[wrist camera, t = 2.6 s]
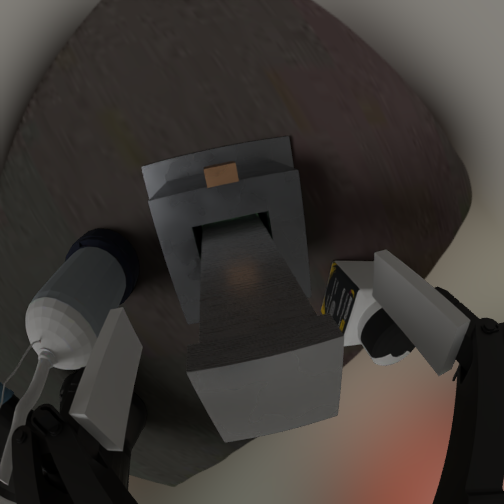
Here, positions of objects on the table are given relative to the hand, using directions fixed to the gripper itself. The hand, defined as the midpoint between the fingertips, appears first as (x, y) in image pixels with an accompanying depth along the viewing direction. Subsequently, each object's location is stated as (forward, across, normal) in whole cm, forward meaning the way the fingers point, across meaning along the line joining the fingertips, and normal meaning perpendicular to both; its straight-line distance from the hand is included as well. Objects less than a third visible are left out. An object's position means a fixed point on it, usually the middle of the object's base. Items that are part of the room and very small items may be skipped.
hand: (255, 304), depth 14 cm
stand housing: (+16, 0, 0) cm, 16 cm away
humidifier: (+16, -15, -2) cm, 22 cm away
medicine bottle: (+16, +13, -12) cm, 23 cm away
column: (+16, 0, 0) cm, 16 cm away
